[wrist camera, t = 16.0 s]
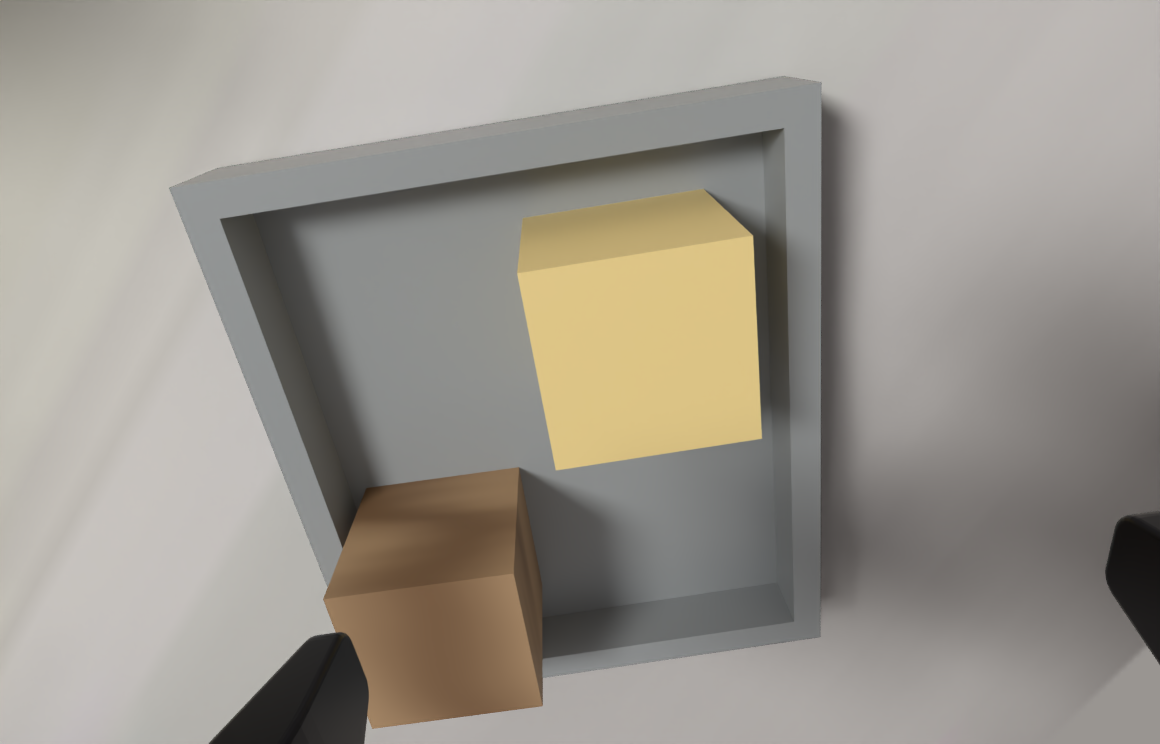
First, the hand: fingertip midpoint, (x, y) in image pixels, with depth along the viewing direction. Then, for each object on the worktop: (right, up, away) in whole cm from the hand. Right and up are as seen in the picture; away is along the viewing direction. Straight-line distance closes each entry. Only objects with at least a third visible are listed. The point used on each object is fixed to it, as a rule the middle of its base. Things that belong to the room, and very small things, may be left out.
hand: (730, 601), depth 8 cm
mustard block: (-1, +5, +10) cm, 11 cm away
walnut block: (-6, -2, +13) cm, 15 cm away
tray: (-3, +2, +12) cm, 13 cm away
